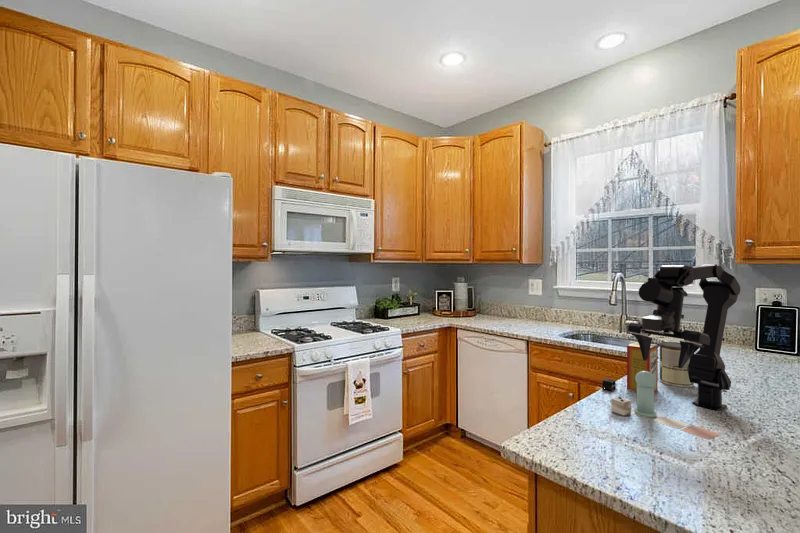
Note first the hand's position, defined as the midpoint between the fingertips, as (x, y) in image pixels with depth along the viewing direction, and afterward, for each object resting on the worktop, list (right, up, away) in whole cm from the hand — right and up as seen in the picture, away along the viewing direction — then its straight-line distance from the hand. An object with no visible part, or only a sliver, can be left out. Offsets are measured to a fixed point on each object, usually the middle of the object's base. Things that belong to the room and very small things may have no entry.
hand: (661, 364), depth 104 cm
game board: (+1, -15, -3) cm, 15 cm away
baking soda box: (+10, -16, +24) cm, 31 cm away
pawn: (-4, -14, +1) cm, 15 cm away
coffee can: (+29, -16, +33) cm, 47 cm away
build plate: (-2, -16, +23) cm, 28 cm away
